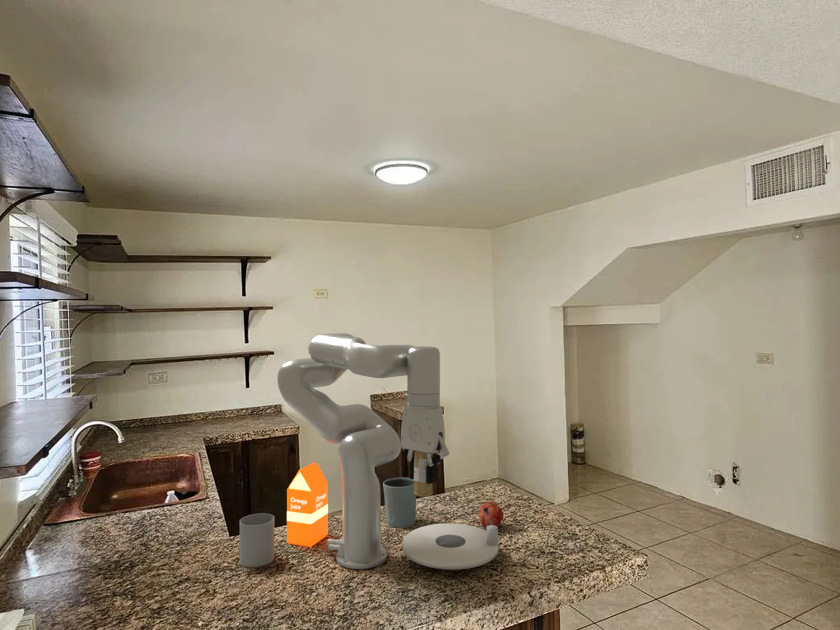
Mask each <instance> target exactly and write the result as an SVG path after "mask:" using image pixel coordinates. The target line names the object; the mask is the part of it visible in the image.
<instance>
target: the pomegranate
mask: <svg viewBox="0 0 840 630" xmlns="http://www.w3.org/2000/svg"><path fill="white" fill-rule="evenodd" d="M504 516H505V515H504V511H503V509H502V508H501V507H500V505H499V504H498V503H497V502H495V501H488V502H487V501H486V503H485V504H482V505H480V507H479V512H478V520H479V522H480V524H481V525H482V526H483V527H484V528H486V527H487V526H489V525H494V526H497V527H498V528H500V526H501V522H502V521H504V518H505V517H504Z"/></svg>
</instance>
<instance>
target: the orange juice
mask: <svg viewBox="0 0 840 630" xmlns="http://www.w3.org/2000/svg"><path fill="white" fill-rule="evenodd" d="M328 484H329V482H328V481H327V479H326V477H325V475H324V473H323V471H322V470H321V468H320V466H319V465H318V463H317V462H316V461H315V462H313V463H310V464H309V465H306V466H304V467H302V468H299V470H298V472H297V473H296V475H295V476H294V478H293V479H292V481H291V483H290V484H289V485H288V488H287V489H286V535H287V536H286V543H287V544H290V545H296V546H304V547H309V548H311V547H313V546H314V545H315V544H317V543H318V542H319V541H321V540H322V539H324V538H325V537H326V536H328V535H329V531H328V530H329V528H328V527H329V522H328V521H329V520H328V519H329V517H328V516H329V515H328V514H329V501H328V500H329V497H328V493H329V492H328V490H329V486H328Z"/></svg>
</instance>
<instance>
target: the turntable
mask: <svg viewBox="0 0 840 630" xmlns="http://www.w3.org/2000/svg"><path fill="white" fill-rule="evenodd" d="M485 528H486V529H484V528H481V527H477V526H474V525H470V524H463V523H448V522H447V523H434V524H428V525H425V526H420V527H418V528H415V529H413V530H411V531H410V532H408V533H407V534H406V535H405V536H404V538H403V540H402V551H403V553H404V555H405V556H406V558H408V559H409V560H411V561H412V562H414V563H416V564H418V565H421V566H424V567H427V568H432V569H439V570H463V569H464V570H465V569H466V570H467V569H473V568H476V567H480V566H484V565H486V564H488V563H490V562H492V561H493V560H494V559H495V558H496V557H497V556H498V554H499V530H498V529H499V527H497V526H494V525H489V526H487V527H485Z"/></svg>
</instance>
